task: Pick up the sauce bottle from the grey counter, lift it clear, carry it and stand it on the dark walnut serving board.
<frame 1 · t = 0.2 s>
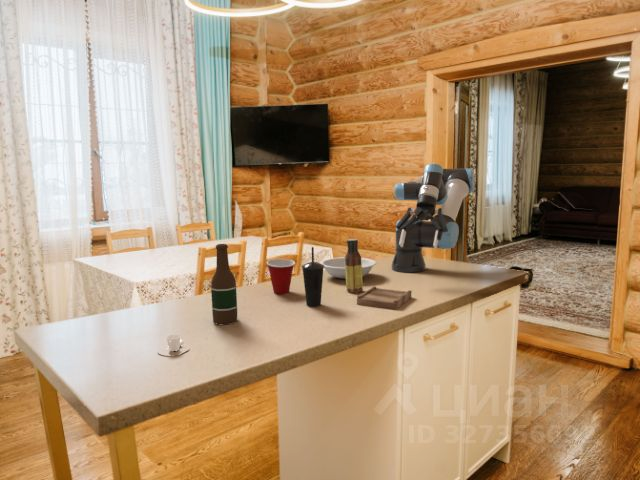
hand: (417, 246, 181), 16 cm above the countertop, tool tilted 35°, fingers open, 13 cm apart
board: (384, 300, 165), on the countertop
sauce bottle: (354, 291, 178), on the countertop
teacup and saucer: (185, 350, 124), on the countertop
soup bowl: (348, 277, 201), on the countertop
plastic cup: (281, 293, 178), on the countertop
drinking cup: (313, 305, 161), on the countertop
beer bottle: (225, 321, 146), on the countertop
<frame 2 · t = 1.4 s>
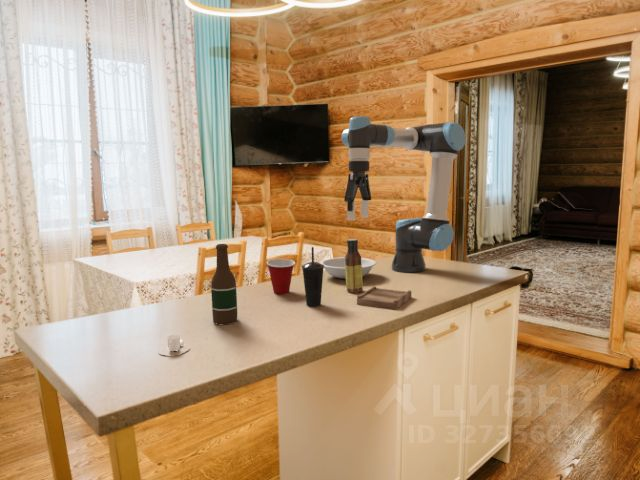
hand: (357, 219, 174), 27 cm above the countertop, tool pointing down, fingers open, 13 cm apart
nothing on the countertop moved.
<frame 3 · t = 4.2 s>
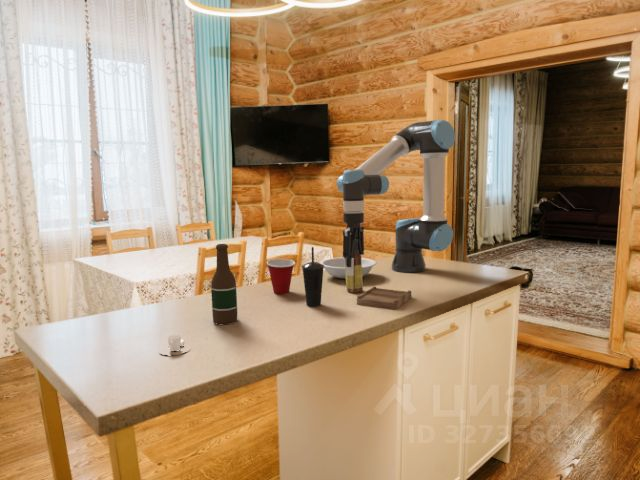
hand: (353, 273, 177), 7 cm above the countertop, tool pointing down, fingers closed on sauce bottle, 6 cm apart
sauce bottle: (354, 291, 178), on the countertop, touching gripper
everything else where it was.
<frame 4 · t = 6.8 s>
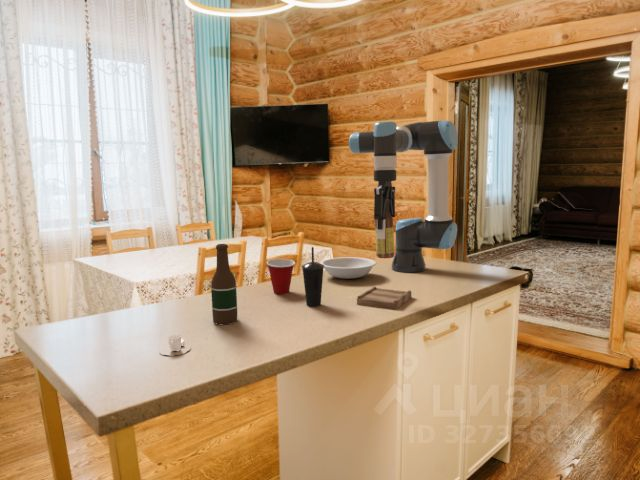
hand: (384, 237, 161), 22 cm above the countertop, tool pointing down, fingers closed on sauce bottle, 6 cm apart
sauce bottle: (384, 257, 162), point 15 cm above the countertop, touching gripper
everything else where it was.
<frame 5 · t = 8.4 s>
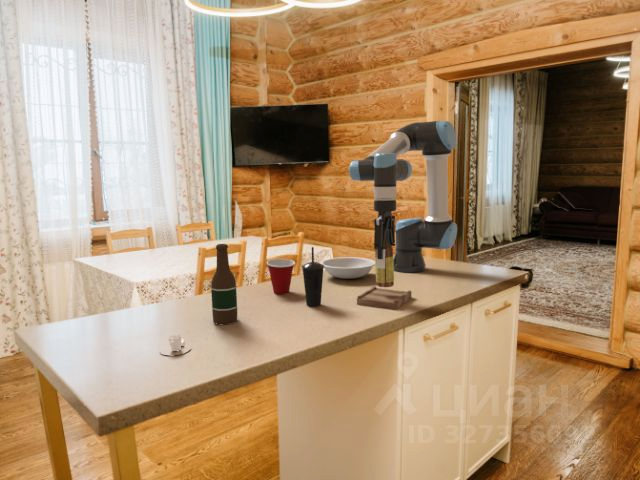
hand: (384, 266, 163), 12 cm above the countertop, tool pointing down, fingers closed on sauce bottle, 6 cm apart
sauce bottle: (384, 286, 164), point 5 cm above the countertop, touching gripper
everything else where it was.
when the fingers open (10 cm above the countertop, at t = 9.7 s): sauce bottle stays where it is, resting on board.
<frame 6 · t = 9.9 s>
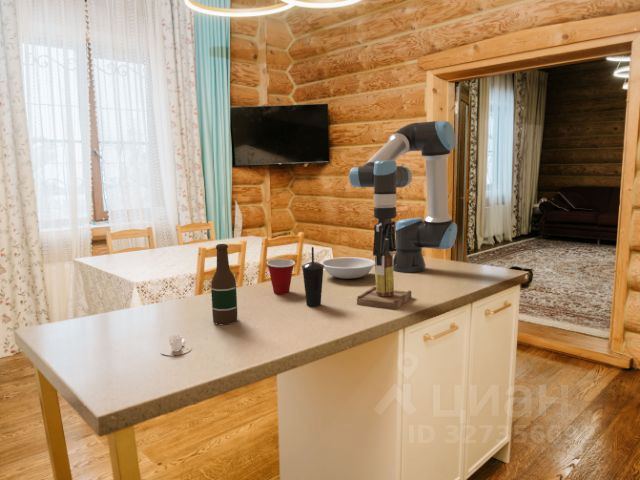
hand: (384, 272, 163), 10 cm above the countertop, tool pointing down, fingers open, 8 cm apart
sauce bottle: (384, 295, 164), point 2 cm above the countertop, touching board
everything else where it was.
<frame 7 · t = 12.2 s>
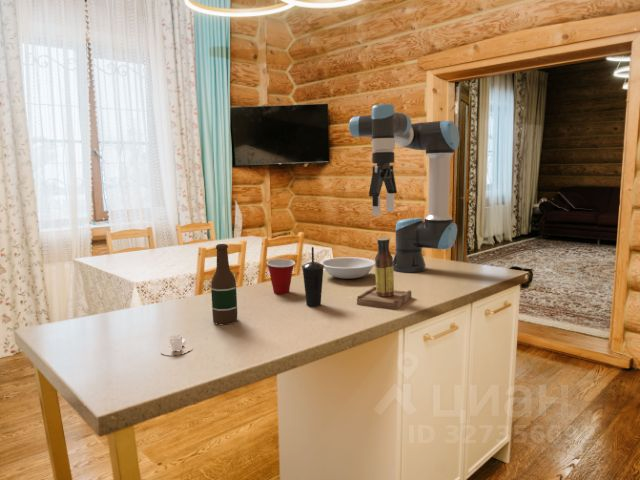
hand: (383, 213, 164), 30 cm above the countertop, tool pointing down, fingers open, 13 cm apart
nothing on the countertop moved.
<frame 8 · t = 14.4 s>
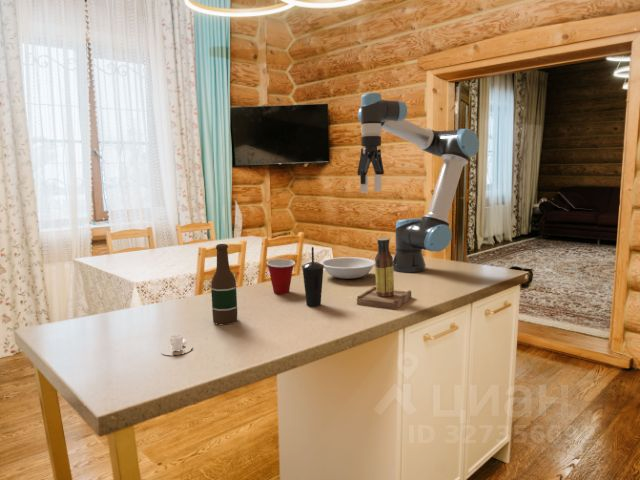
hand: (371, 192, 182), 37 cm above the countertop, tool pointing down, fingers open, 13 cm apart
nothing on the countertop moved.
at the end: sauce bottle inside the target area on the board (0.1 cm from its centre), point 1.8 cm above the board's base; sauce bottle tilted 0°; the gripper is holding nothing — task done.
